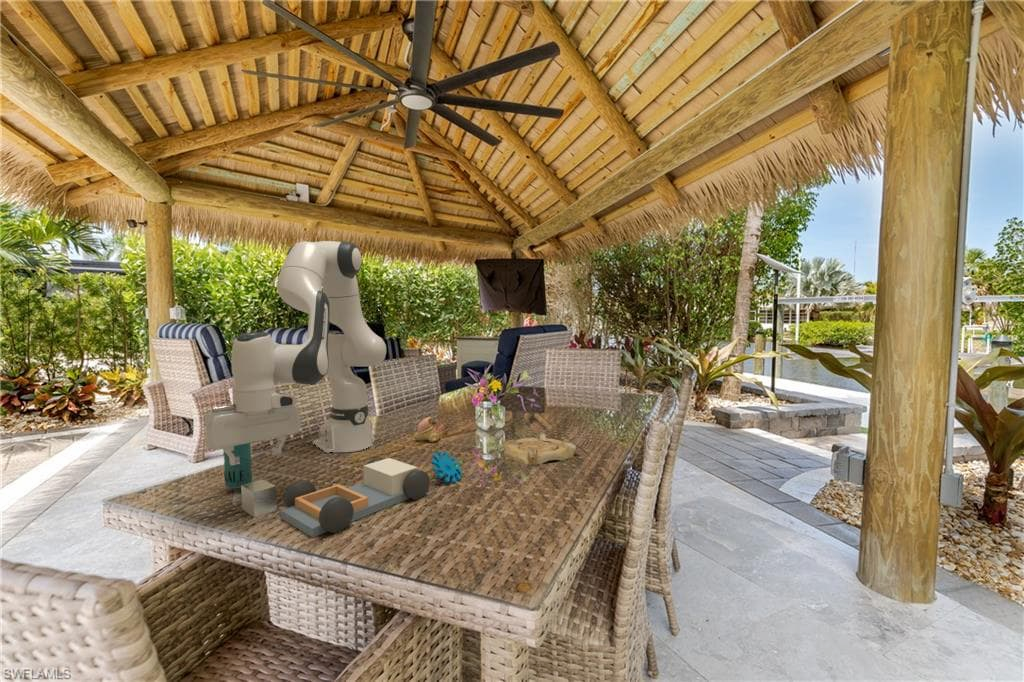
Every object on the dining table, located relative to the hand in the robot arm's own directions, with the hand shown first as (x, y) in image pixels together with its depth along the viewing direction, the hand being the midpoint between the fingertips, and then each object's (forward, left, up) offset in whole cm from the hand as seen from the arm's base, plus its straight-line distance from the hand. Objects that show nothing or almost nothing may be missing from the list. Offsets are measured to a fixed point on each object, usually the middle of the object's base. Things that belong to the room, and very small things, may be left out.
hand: (256, 459), depth 110 cm
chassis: (+16, +17, -12) cm, 26 cm away
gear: (+20, +42, -13) cm, 49 cm away
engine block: (0, 0, -13) cm, 13 cm away
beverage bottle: (-17, +2, -13) cm, 21 cm away
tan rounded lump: (-14, +64, -13) cm, 67 cm away
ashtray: (+27, +77, -13) cm, 83 cm away
